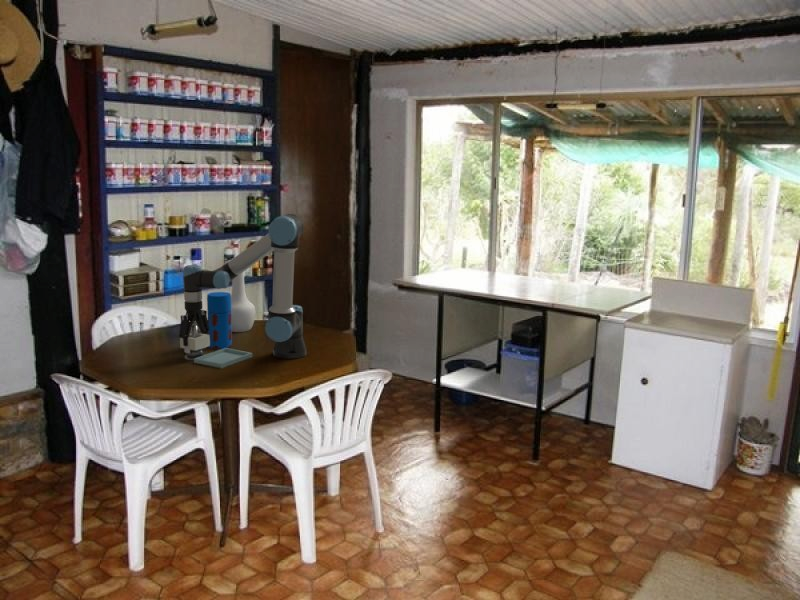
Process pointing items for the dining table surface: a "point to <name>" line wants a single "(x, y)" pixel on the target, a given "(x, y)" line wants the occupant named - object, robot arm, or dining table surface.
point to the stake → (194, 353)
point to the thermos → (219, 319)
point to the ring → (197, 341)
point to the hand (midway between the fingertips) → (195, 350)
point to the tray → (223, 358)
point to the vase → (241, 306)
